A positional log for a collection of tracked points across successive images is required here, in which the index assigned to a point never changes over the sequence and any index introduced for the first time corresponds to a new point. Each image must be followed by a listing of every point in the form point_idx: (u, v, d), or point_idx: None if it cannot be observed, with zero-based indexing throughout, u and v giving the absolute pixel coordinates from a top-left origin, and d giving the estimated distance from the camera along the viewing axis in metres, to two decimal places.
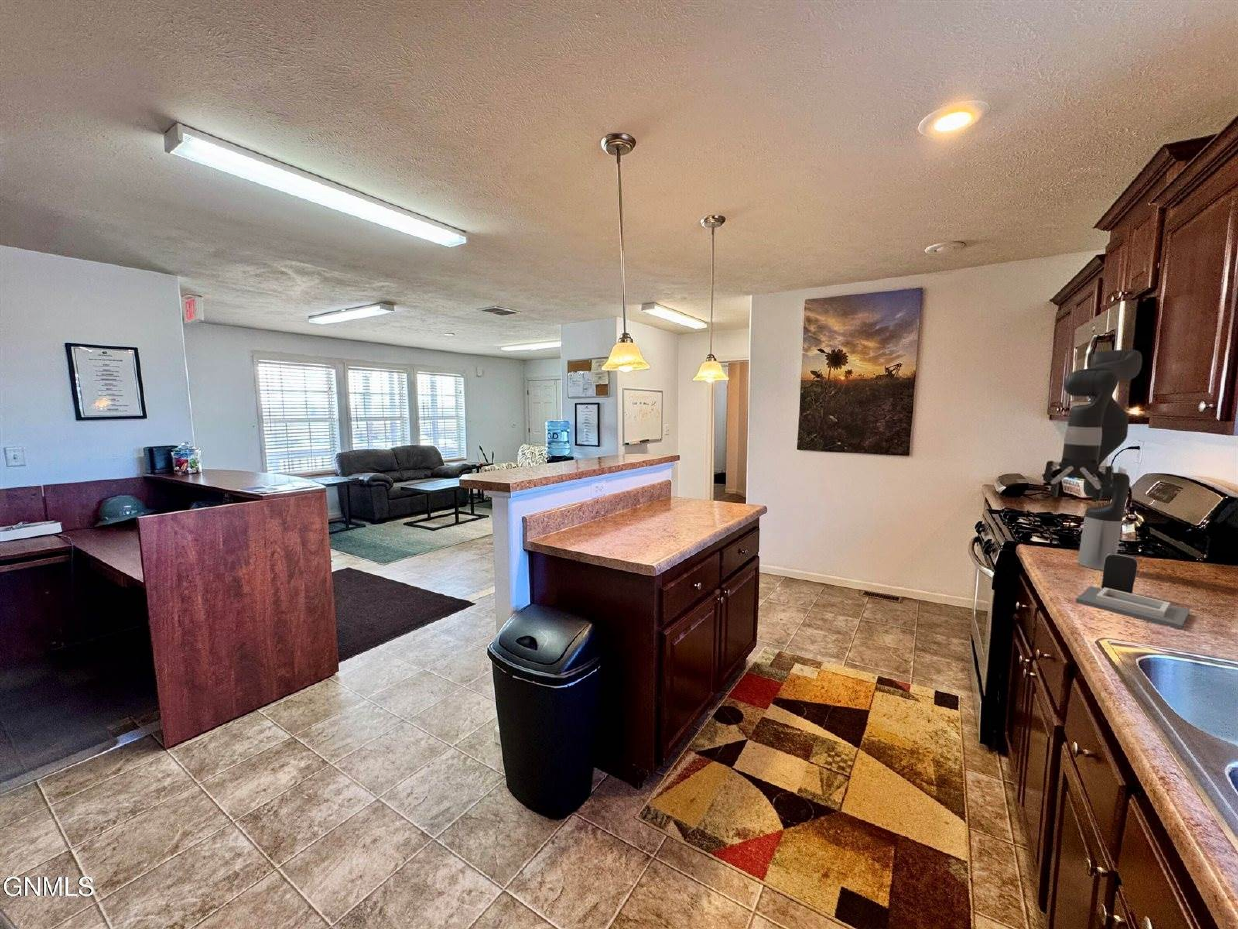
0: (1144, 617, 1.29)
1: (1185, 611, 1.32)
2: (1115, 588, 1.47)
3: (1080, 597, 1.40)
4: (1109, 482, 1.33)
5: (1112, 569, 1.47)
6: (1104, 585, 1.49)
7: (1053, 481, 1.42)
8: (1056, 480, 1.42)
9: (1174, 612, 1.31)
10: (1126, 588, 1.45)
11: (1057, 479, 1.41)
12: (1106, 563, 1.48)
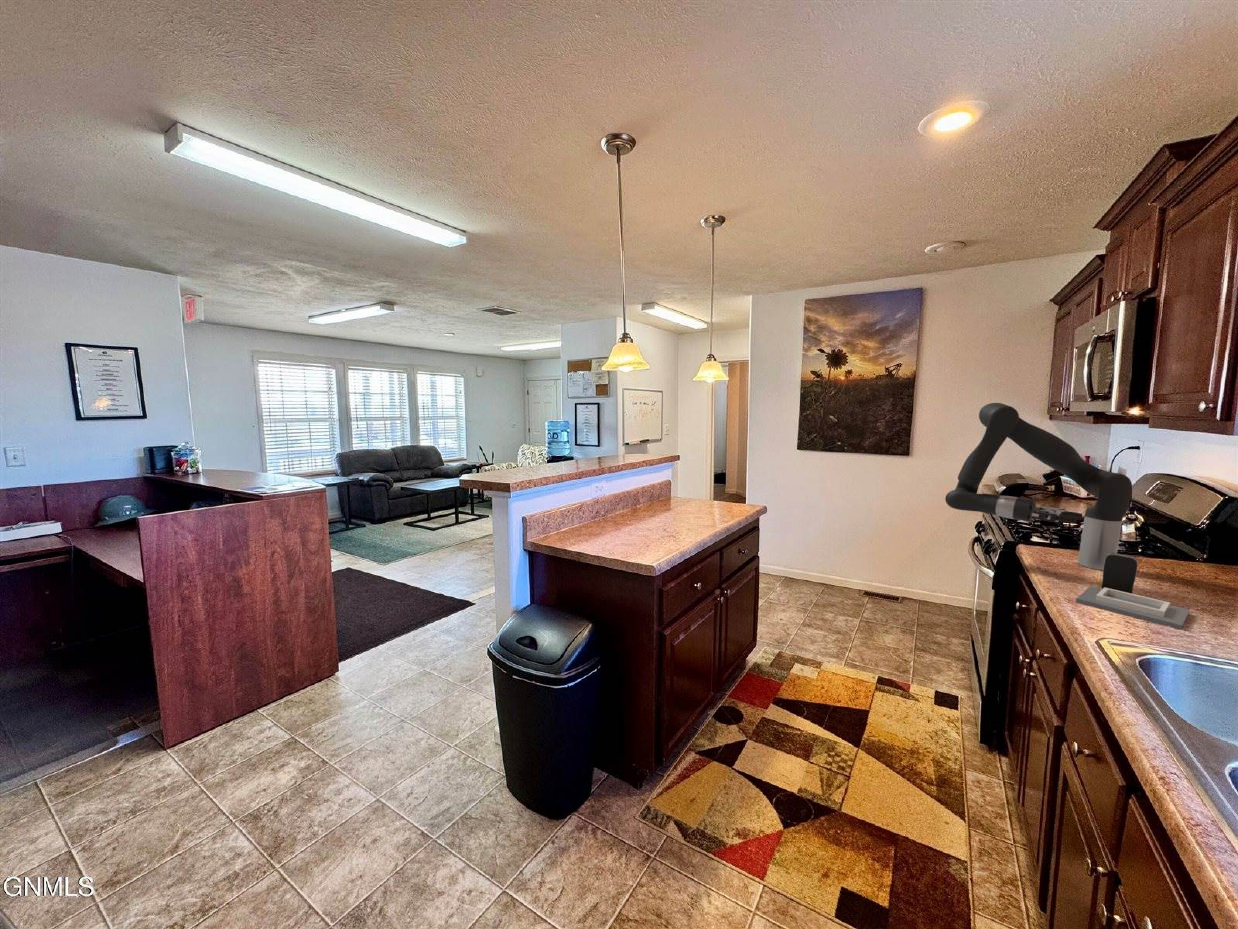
0: (1144, 617, 1.29)
1: (1185, 611, 1.32)
2: (1115, 588, 1.47)
3: (1080, 597, 1.40)
4: None
5: (1112, 569, 1.47)
6: (1104, 585, 1.49)
7: None
8: None
9: (1174, 612, 1.31)
10: (1126, 588, 1.45)
11: None
12: (1106, 563, 1.48)
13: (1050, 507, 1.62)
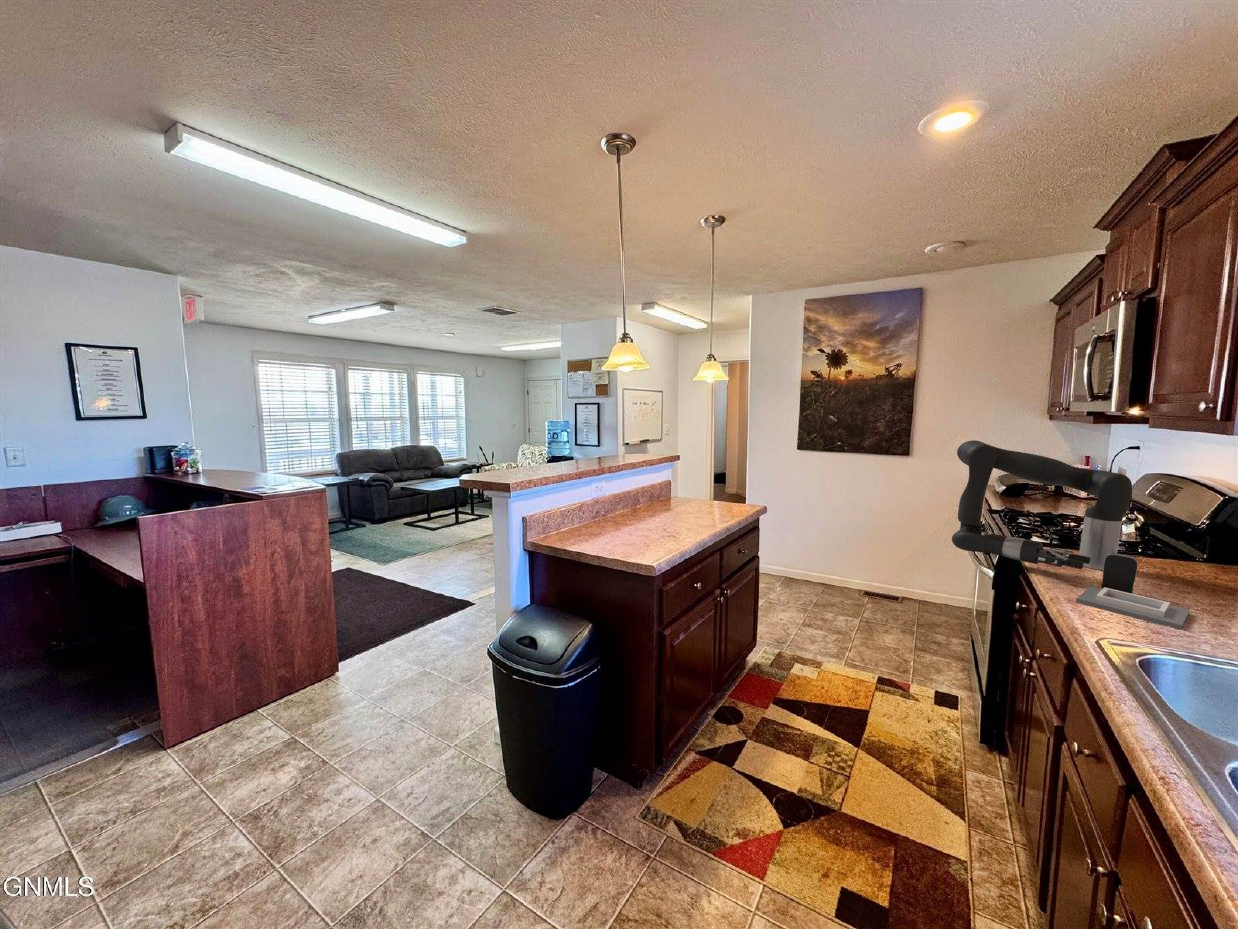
0: (1144, 617, 1.29)
1: (1185, 611, 1.32)
2: (1115, 588, 1.47)
3: (1080, 597, 1.40)
4: None
5: (1112, 569, 1.47)
6: (1104, 585, 1.49)
7: None
8: None
9: (1174, 612, 1.31)
10: (1126, 588, 1.45)
11: None
12: (1106, 563, 1.48)
13: (1057, 550, 1.61)
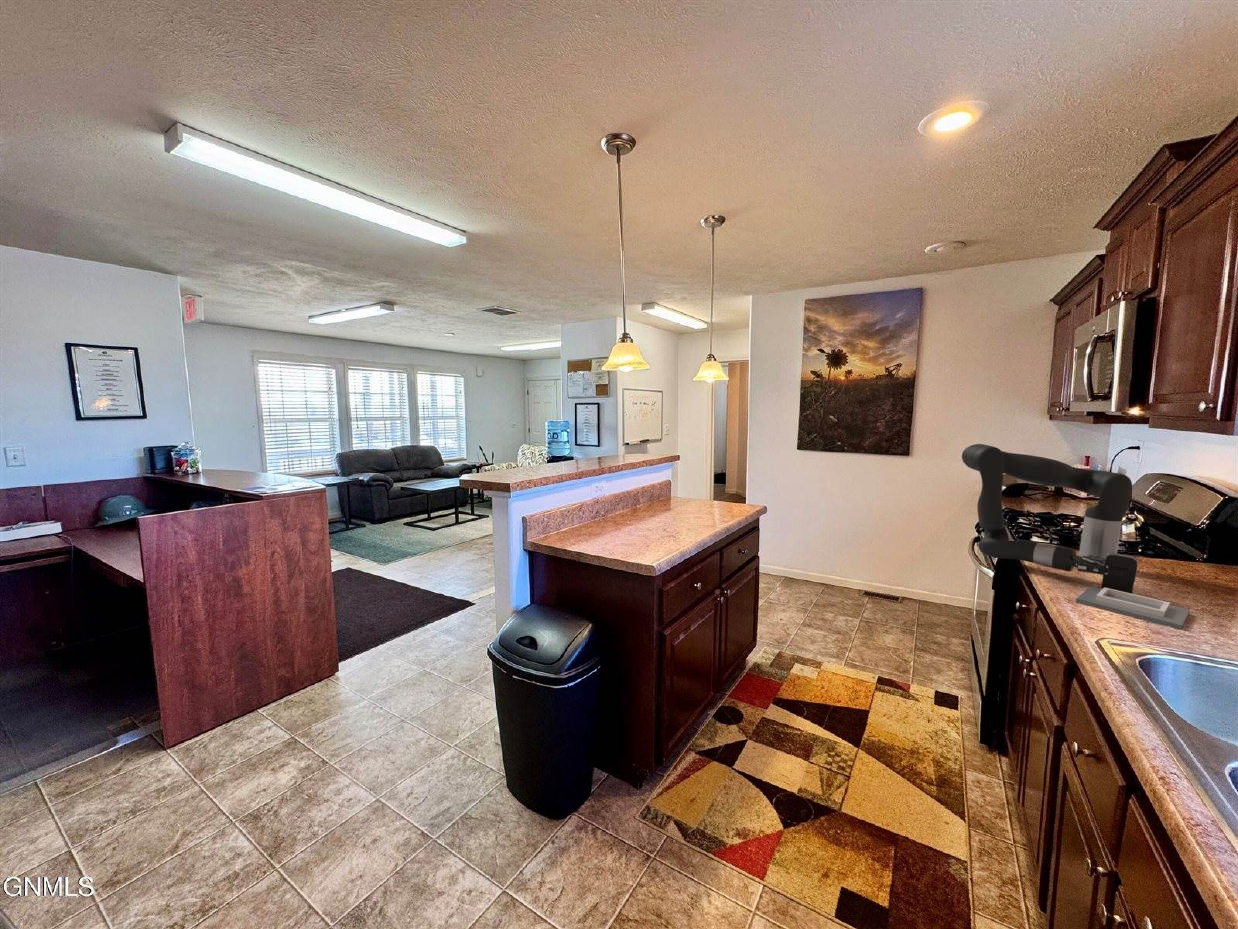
0: (1144, 617, 1.29)
1: (1185, 611, 1.32)
2: (1115, 588, 1.47)
3: (1080, 597, 1.40)
4: None
5: None
6: (1104, 585, 1.49)
7: None
8: None
9: (1174, 612, 1.31)
10: (1126, 588, 1.45)
11: None
12: (1106, 563, 1.48)
13: (1094, 557, 1.54)
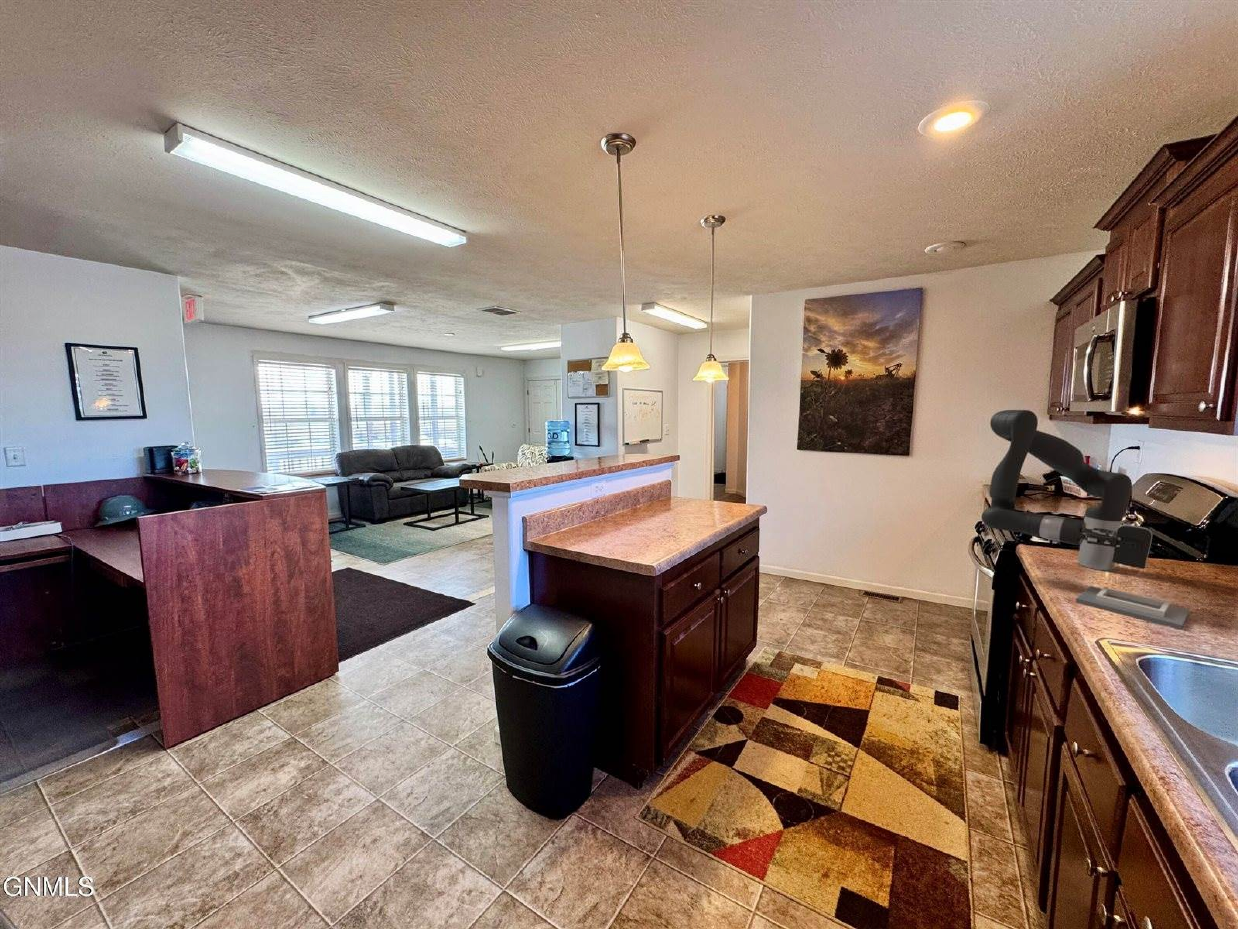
0: (1144, 617, 1.29)
1: (1185, 611, 1.32)
2: (1127, 562, 1.37)
3: (1080, 597, 1.40)
4: (1108, 546, 1.38)
5: None
6: (1115, 558, 1.39)
7: None
8: None
9: (1174, 612, 1.31)
10: (1139, 561, 1.36)
11: None
12: (1118, 535, 1.38)
13: (1105, 530, 1.44)
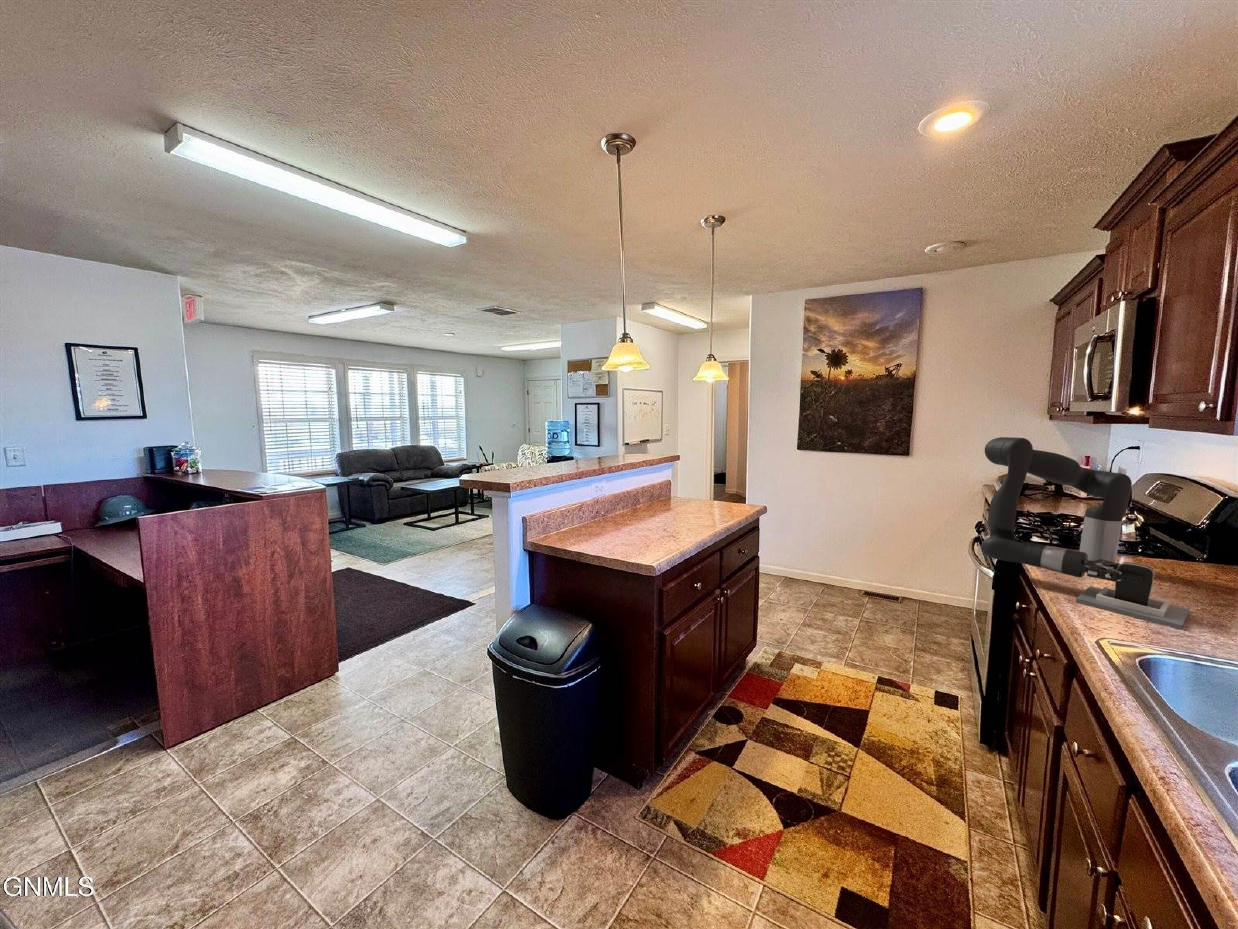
0: (1144, 617, 1.29)
1: (1185, 611, 1.32)
2: (1129, 600, 1.35)
3: (1080, 597, 1.40)
4: None
5: None
6: (1117, 597, 1.37)
7: None
8: None
9: (1174, 612, 1.31)
10: (1141, 600, 1.33)
11: None
12: None
13: (1107, 562, 1.41)
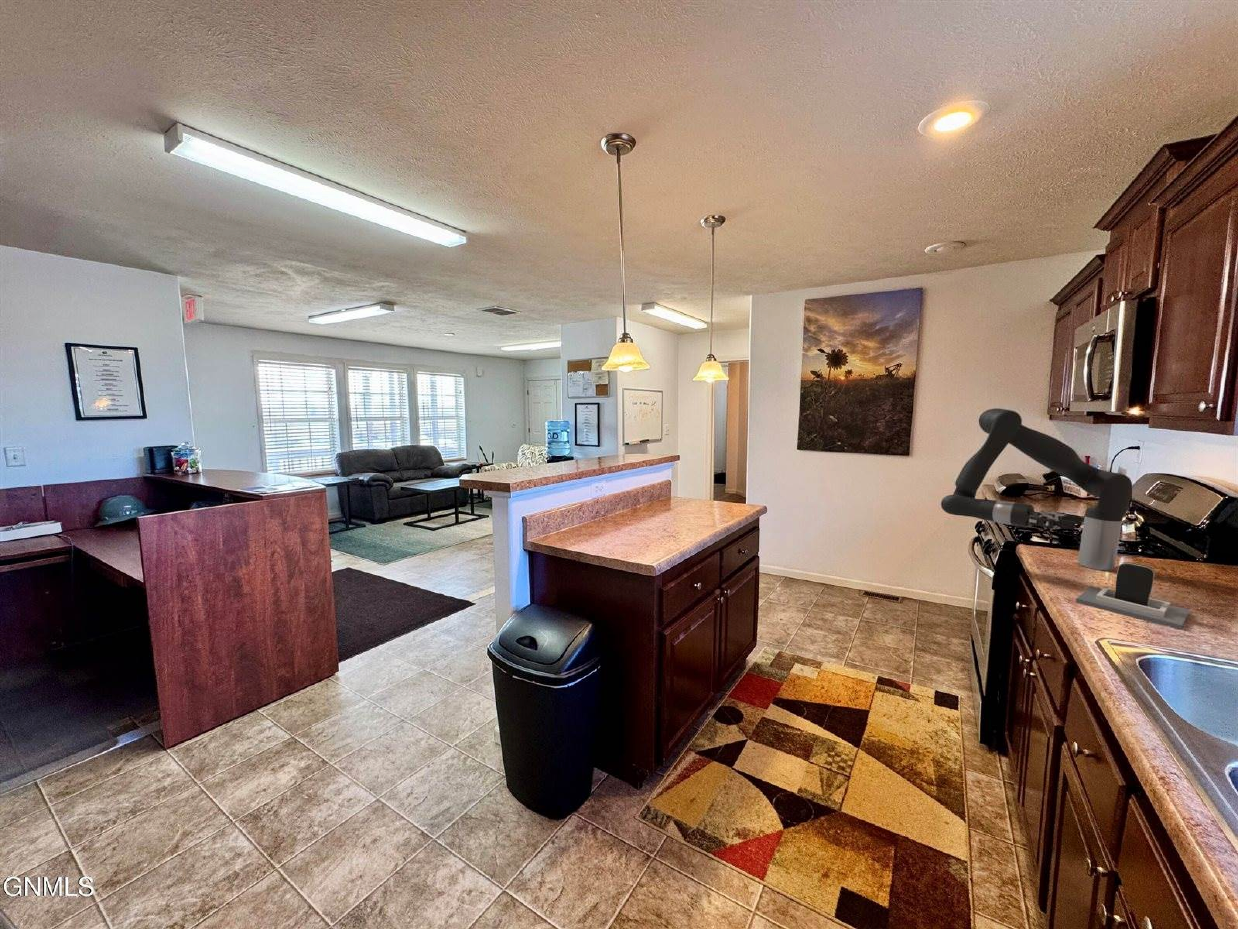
0: (1144, 617, 1.29)
1: (1185, 611, 1.32)
2: (1129, 600, 1.35)
3: (1080, 597, 1.40)
4: (1046, 526, 1.49)
5: (1126, 579, 1.35)
6: (1117, 597, 1.37)
7: None
8: None
9: (1174, 612, 1.31)
10: (1141, 601, 1.33)
11: None
12: (1119, 573, 1.36)
13: (1049, 511, 1.56)
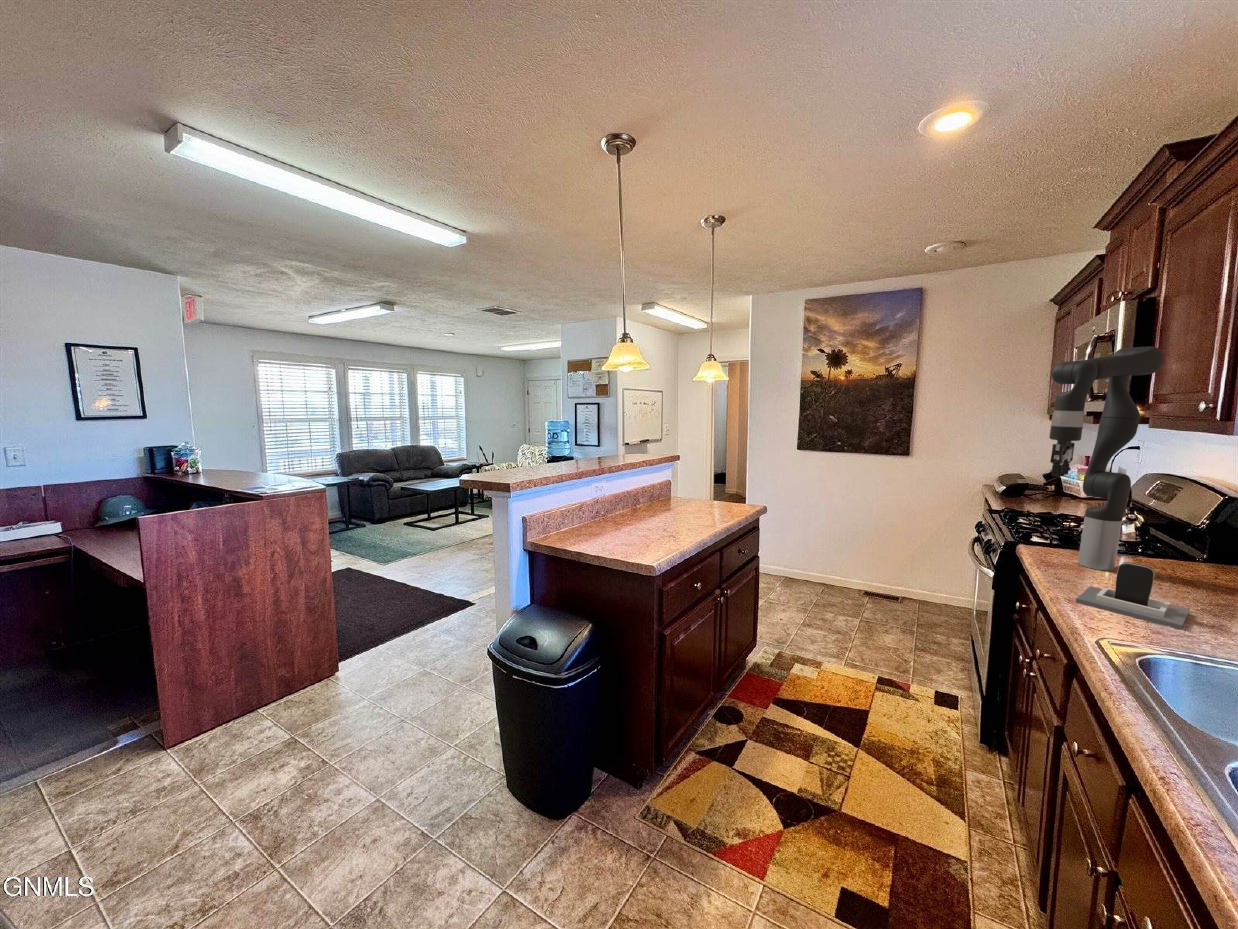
0: (1144, 617, 1.29)
1: (1185, 611, 1.32)
2: (1129, 600, 1.35)
3: (1080, 597, 1.40)
4: (1051, 457, 1.54)
5: (1126, 579, 1.35)
6: (1117, 597, 1.37)
7: None
8: None
9: (1174, 612, 1.31)
10: (1141, 601, 1.33)
11: None
12: (1119, 573, 1.36)
13: (1072, 451, 1.57)
